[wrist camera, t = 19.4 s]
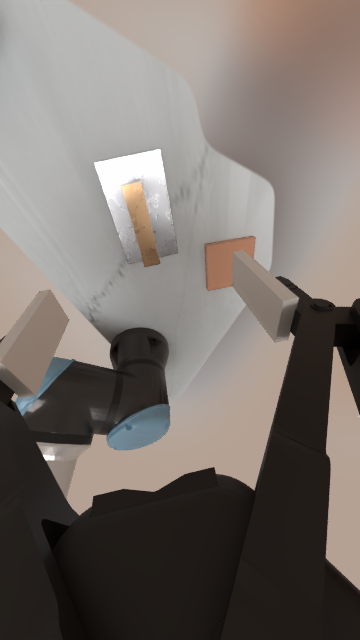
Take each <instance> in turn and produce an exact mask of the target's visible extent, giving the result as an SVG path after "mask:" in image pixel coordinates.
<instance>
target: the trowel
mask: <svg viewBox="0 0 360 640" xmlns="http://www.w3.org/2000/svg"><path fill="white" fill-rule="evenodd" d="M94 164H95V167H96V170H97V173H98V176H99V179H100V182H101V185H102V188H103V191H104V193H105V196H106V199H107V202H108V205H109V208H110V211H111V214H112V217H113V220H114V223H115V226H116V229H117V232H118V235H119V238H120V241H121V244H122V247H123V250H124V252H125V255H126V258H127V261H128V264H131V263H135V262H140V261H143V263H144V266H145V267H148V266H152V265H157V264H160V260H159V257H162V256H167V255H171V254H176V253H178V249H177V244H176V238H175V232H174V226H173V220H172V215H171V209H170V203H169V197H168V191H167V185H166V180H165V174H164V168H163V162H162V156H161V151H160V149H158V150H153V151H148V152H143V153H139V154H134V155H129V156H124V157H120V158H115V159H110V160H105V161H100V162H96V163H94Z"/></svg>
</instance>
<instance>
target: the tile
mask: <svg viewBox="0 0 360 640" xmlns="http://www.w3.org/2000/svg"><path fill="white" fill-rule="evenodd" d="M255 239H256V237H254V236H249V237H243V238H238V239H232V240H226V241H221V242H215V243H209V244H205V264H206V287H207V290H208V291H209V290H214V289H220V288H225V287H230V286H232V265H233V252H235V251H240V250H244V251H245V252H246V253H247V254H248V255H250V256H251V257H252V258H254V248H255Z"/></svg>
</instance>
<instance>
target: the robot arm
mask: <svg viewBox="0 0 360 640" xmlns="http://www.w3.org/2000/svg"><path fill="white" fill-rule="evenodd" d="M232 286H233V287H234V289H235V290H236V291H237V293H238V294H239V295H240V297H241V298H242V299H243V301H244V302H245V303H246V305H247V306H248V307H249V309H250V310H251V311H252V313H253V314H254V315H255V317H256V318H257V319H258V321H259V322H260V323H261V325H262V326H263V327H264V329H265V330H266V331H267V333H268V334H269V335H270V337H271V338H272V339H273V341H274V342H280V341H284V340H288V339H289V334H290V332H291V333H292V334H293V335H294V336H295V338H294V341H293V345H292V349H291V353H290V357H289V361H288V365H287V369H286V373H285V377H284V380H283V384H282V388H281V392H280V396H279V400H278V403H277V408H276V411H275V415H274V419H273V423H272V426H271V430H270V434H269V438H268V442H267V446H266V450H265V453H264V458H263V461H262V465H261V468H260V472H259V476H258V479H257V483H256V487H255V491H254V490H253V489H251V488H250V487H249V486H247V485H246V484H244V483H243V482H241V481H239V480H237V479H235V478H232V477H229V476H226V475H219V474H216V473H215V468H214V467H213V468H208V469H204V470H200V471H196V472H192V473H188V474H184V475H183V476H181V477H179V478H178V479H176V480H174V481H173V482H171V483H169V484H168V485H166V486H164V487H163V488H161V489H159V490H158V491H155V492H149V491H139V490H128V489H122V490H118V491H113V492H109V493H105V494H101V495H96V496H93V504H92V507H90V508H89V509H88V510H86V511H85V512H84V513H82V514H81V515H80V516H79V515H78V514H77V513H76V512H75V511H74V510H73V509H72V508H71V506H70V505H69V503H68V502H67V500H66V497H67V494H68V490H69V487H70V483H71V480H72V476H73V472H74V469H75V465H76V461H77V458H78V457H79V456H80V455H81V454H82V453H83V452H84V451H85V450H87V449H88V448H89V447H90V446H91V442H92V438H93V435H94V434H101V435H107V443H108V445H109V447H111V448H114V449H115V450H132V449H137V448H141V447H144V446H147V445H149V444H152V443H154V442H156V441H157V440H159V439H160V438H162V437H163V436H164V435H165V434H166V432H167V431H168V429H169V426H170V406H169V402H168V395H167V387H166V380H165V372H164V370H165V366H166V363H167V359H168V354H169V350H168V344H167V341H166V339H165V338H164V337H163V336H162V335H161V334H160V333H158V332H156V331H154V330H151V329H146V328H134V329H130V330H127V331H124V332H122V333H120V334H119V335H118V336H117V337H116V338H115V339H114V340H113V342H112V344H111V348H110V359H111V362H112V366H113V369H114V370H113V369H108V368H104V367H100V366H95V365H91V364H87V363H82V362H78V361H75V360H74V359H72V360H68V359H63V358H58V357H53V356H54V353H55V351H56V349H57V347H58V344H59V342H60V340H61V338H62V335H63V333H64V331H65V328H66V326H67V324H68V321H69V319H68V317H67V315H66V314H65V312H64V311H63V309H62V307H61V306H60V304H59V303H58V301H57V300H56V298H55V296H54V295H53V293H52V291H51V290H45V291H40V292H39V293H38V294H37V295H36V297H35V298H34V299H33V301H32V302H31V303H30V305H29V306H28V307H27V309H26V310H25V311H24V313H23V314H22V315H21V316H20V318H19V319H18V320H17V322H16V323H15V324H14V326H13V327H12V329H11V330H10V331H9V332H8V334H7V335H6V336H4V337H3V338H2V339H1V340H0V640H360V590H359V589H358V588H356V587H355V586H354V585H353V584H352V583H351V582H350V581H349V580H348V579H347V578H346V577H345V576H344V575H342V573H341V572H340V571H339V570H337V569H336V568H335V567H334V566H333V565H332V564H331V563H330V562H329V561H328V560H327V559H326V541H327V524H328V507H329V488H330V458H329V457H328V456H327V454H326V438H327V426H328V412H329V400H330V386H331V373H332V361H333V347H337V349H338V352H339V355H340V358H341V361H342V364H343V366H344V370H345V373H346V376H347V379H348V381H349V385H350V388H351V391H352V393H353V396H354V399H355V402H356V405H357V408H358V411H359V414H360V298H359V299H356V300H355V301H354V303H353V305H352V307H335V305H334V304H333V303H332V302H329V301H327V300H323V299H312V298H311V297H310V296H309V295H307V294H306V293H305V292H304V291H302V290H301V289H300V288H298V287H297V286H296V285H294V284H293V283H292V282H291V281H290V280H288V279H286V278H284V277H281V276H279V277H274V276H273V275H272V274H271V273H269V272H268V271H267V270H266V269H265V268H264V267H262V266H261V265H260V264H259V263H258V262H257V261H255V260H254V259H253V258H252V257H251V256H250V255H248V254H247V253H246V252H245V251H244V250H240V251H235V252H233V265H232ZM14 393H15V394H17V395H18V398H17V400H16V401H15V402H14V401H12V400H11V398H12V396H13V394H14Z"/></svg>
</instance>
